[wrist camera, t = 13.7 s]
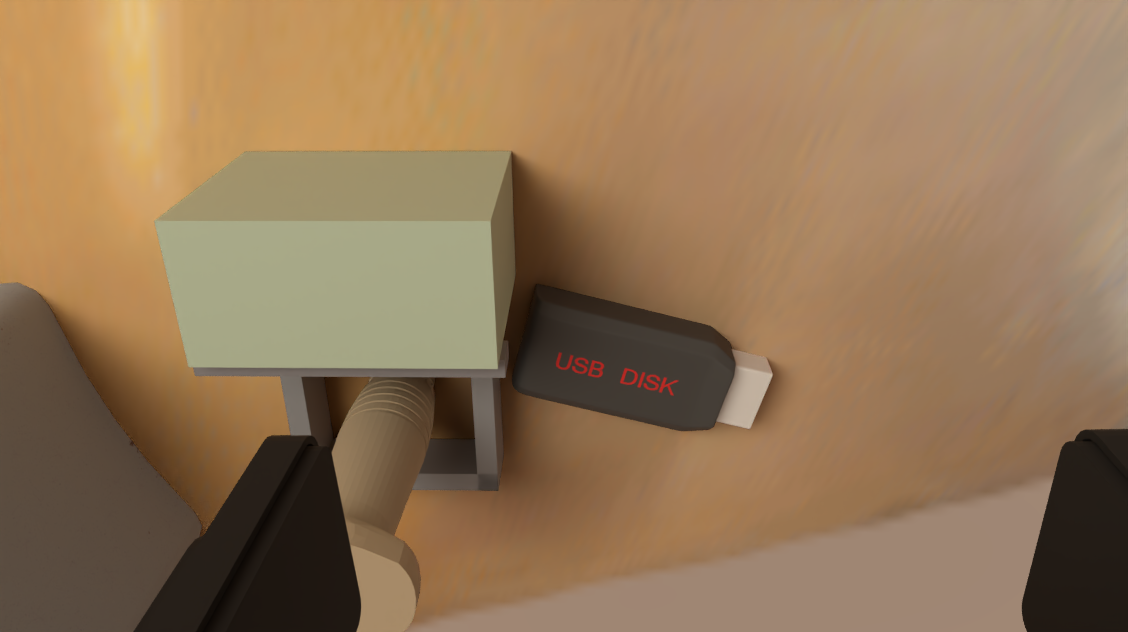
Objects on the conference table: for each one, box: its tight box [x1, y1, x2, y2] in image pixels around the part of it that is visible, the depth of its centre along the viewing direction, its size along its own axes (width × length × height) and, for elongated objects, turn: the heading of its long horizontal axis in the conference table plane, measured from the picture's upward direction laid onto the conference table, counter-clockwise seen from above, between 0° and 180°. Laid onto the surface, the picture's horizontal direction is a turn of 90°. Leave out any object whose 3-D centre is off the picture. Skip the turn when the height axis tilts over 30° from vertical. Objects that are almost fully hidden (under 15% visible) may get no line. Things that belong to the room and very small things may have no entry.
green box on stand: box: [154, 151, 516, 491], centre depth 38 cm, size 12×16×9 cm
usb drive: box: [512, 284, 773, 431], centre depth 42 cm, size 5×12×3 cm, turn 76°
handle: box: [332, 377, 436, 632], centre depth 37 cm, size 5×6×15 cm
